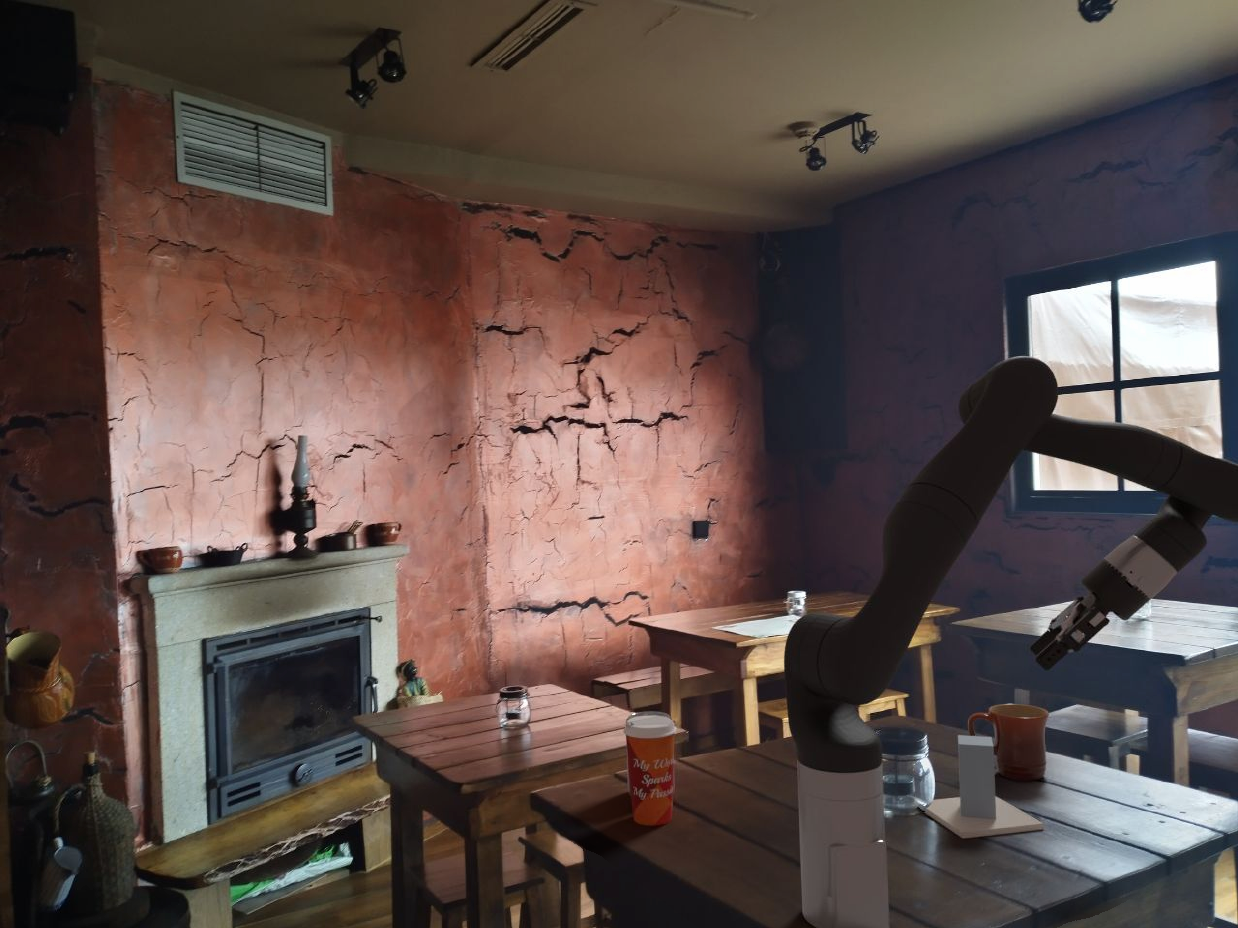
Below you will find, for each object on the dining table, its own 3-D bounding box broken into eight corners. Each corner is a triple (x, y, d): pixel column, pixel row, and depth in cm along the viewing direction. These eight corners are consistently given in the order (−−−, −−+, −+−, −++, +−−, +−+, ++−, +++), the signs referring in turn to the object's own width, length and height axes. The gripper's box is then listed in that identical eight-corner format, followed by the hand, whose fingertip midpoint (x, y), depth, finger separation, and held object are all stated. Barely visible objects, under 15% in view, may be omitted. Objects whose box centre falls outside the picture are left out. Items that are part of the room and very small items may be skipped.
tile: (1043, 829, 124) (1043, 823, 124) (962, 838, 122) (962, 832, 122) (991, 799, 136) (991, 793, 136) (917, 806, 134) (916, 801, 134)
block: (996, 819, 126) (993, 746, 126) (961, 816, 128) (958, 743, 128) (994, 807, 130) (991, 736, 131) (960, 804, 132) (957, 735, 132)
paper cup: (635, 831, 128) (631, 730, 128) (619, 812, 135) (616, 717, 135) (688, 824, 130) (684, 724, 130) (669, 806, 137) (666, 712, 138)
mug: (1046, 768, 149) (1044, 704, 149) (1055, 786, 141) (1053, 719, 141) (967, 763, 152) (965, 701, 153) (971, 781, 144) (969, 715, 144)
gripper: (1097, 553, 131) (1012, 631, 134) (1114, 561, 117) (1019, 647, 121) (1140, 591, 129) (1053, 669, 133) (1163, 604, 116) (1065, 690, 119)
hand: (1037, 659), depth 127 cm, fingers open, 8 cm apart
